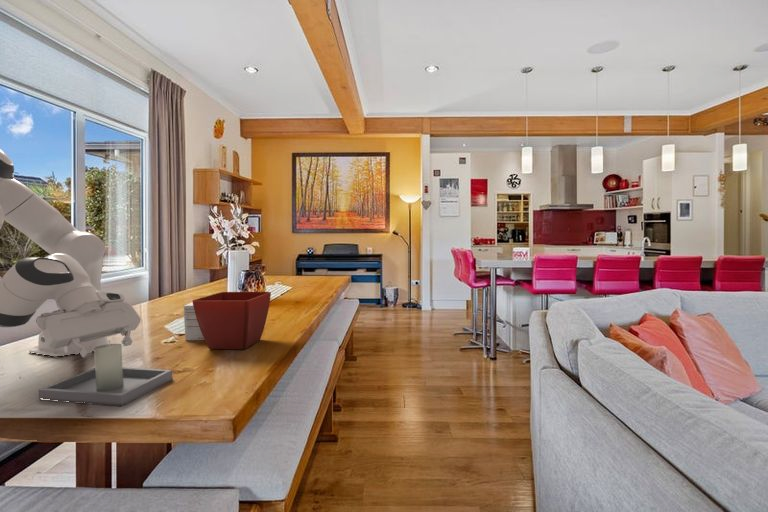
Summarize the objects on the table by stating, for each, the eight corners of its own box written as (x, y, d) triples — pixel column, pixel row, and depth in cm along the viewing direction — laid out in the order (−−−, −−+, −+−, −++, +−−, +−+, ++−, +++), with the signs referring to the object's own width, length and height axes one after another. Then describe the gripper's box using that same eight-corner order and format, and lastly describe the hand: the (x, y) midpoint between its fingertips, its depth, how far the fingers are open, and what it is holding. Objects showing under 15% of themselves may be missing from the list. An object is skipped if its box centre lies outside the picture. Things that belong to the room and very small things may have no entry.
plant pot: (223, 336, 144) (221, 291, 143) (273, 337, 142) (271, 291, 141) (192, 352, 126) (190, 300, 124) (249, 353, 123) (247, 300, 122)
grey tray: (39, 400, 90) (38, 389, 90) (100, 375, 106) (99, 365, 106) (121, 406, 87) (121, 395, 86) (172, 379, 102) (172, 370, 102)
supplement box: (192, 335, 146) (191, 301, 145) (213, 334, 147) (211, 301, 146) (184, 340, 139) (182, 305, 138) (206, 340, 140) (204, 305, 139)
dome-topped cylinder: (90, 390, 94) (88, 349, 93) (110, 381, 99) (107, 343, 99) (110, 392, 93) (107, 350, 92) (128, 383, 99) (126, 344, 98)
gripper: (37, 306, 88) (64, 354, 85) (128, 292, 107) (154, 331, 104) (28, 324, 91) (54, 371, 87) (119, 307, 109) (144, 346, 106)
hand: (109, 349), depth 96 cm, fingers open, 8 cm apart
